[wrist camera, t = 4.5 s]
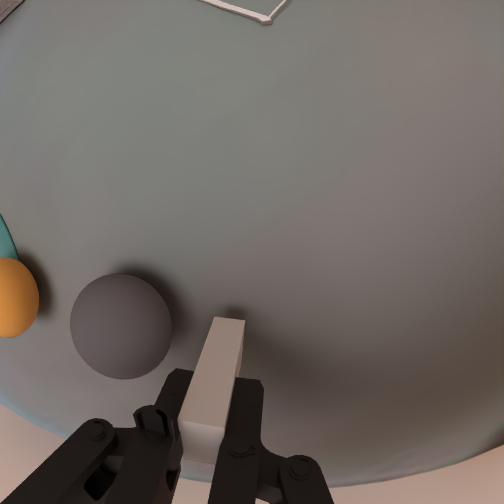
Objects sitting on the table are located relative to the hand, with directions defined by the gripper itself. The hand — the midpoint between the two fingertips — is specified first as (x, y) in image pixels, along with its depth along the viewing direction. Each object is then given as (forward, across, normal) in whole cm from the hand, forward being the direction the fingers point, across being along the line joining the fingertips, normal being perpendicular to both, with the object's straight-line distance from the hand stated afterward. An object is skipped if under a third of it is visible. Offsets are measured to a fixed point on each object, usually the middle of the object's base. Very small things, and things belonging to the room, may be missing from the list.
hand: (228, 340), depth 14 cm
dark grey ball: (-1, +6, 0) cm, 6 cm away
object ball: (-1, +16, 0) cm, 16 cm away
